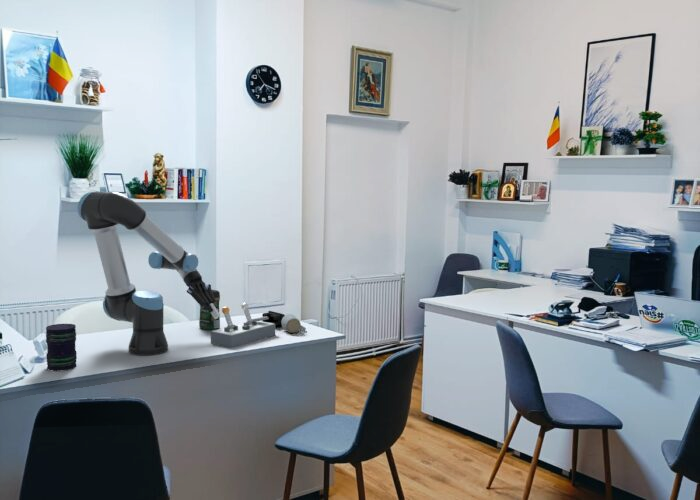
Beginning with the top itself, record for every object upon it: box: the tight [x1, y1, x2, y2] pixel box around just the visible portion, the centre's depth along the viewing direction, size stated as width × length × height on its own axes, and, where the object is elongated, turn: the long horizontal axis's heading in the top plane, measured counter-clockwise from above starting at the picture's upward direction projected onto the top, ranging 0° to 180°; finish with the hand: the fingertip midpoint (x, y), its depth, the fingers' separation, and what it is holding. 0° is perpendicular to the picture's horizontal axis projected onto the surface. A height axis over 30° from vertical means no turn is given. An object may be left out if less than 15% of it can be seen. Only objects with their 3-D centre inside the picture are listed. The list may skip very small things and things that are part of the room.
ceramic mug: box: [281, 313, 307, 334], centre depth 287 cm, size 11×8×8 cm
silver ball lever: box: [240, 302, 255, 325], centre depth 274 cm, size 3×4×10 cm
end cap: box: [261, 310, 286, 329], centre depth 298 cm, size 10×7×7 cm
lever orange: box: [221, 306, 236, 330], centre depth 264 cm, size 3×4×10 cm
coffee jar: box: [198, 289, 221, 331], centre depth 290 cm, size 10×8×19 cm
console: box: [210, 321, 276, 348], centre depth 271 cm, size 12×28×7 cm, turn 147°
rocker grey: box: [251, 316, 269, 321], centre depth 279 cm, size 6×4×1 cm
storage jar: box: [45, 323, 78, 372], centre depth 223 cm, size 10×10×15 cm
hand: (217, 317), depth 268 cm, fingers closed
